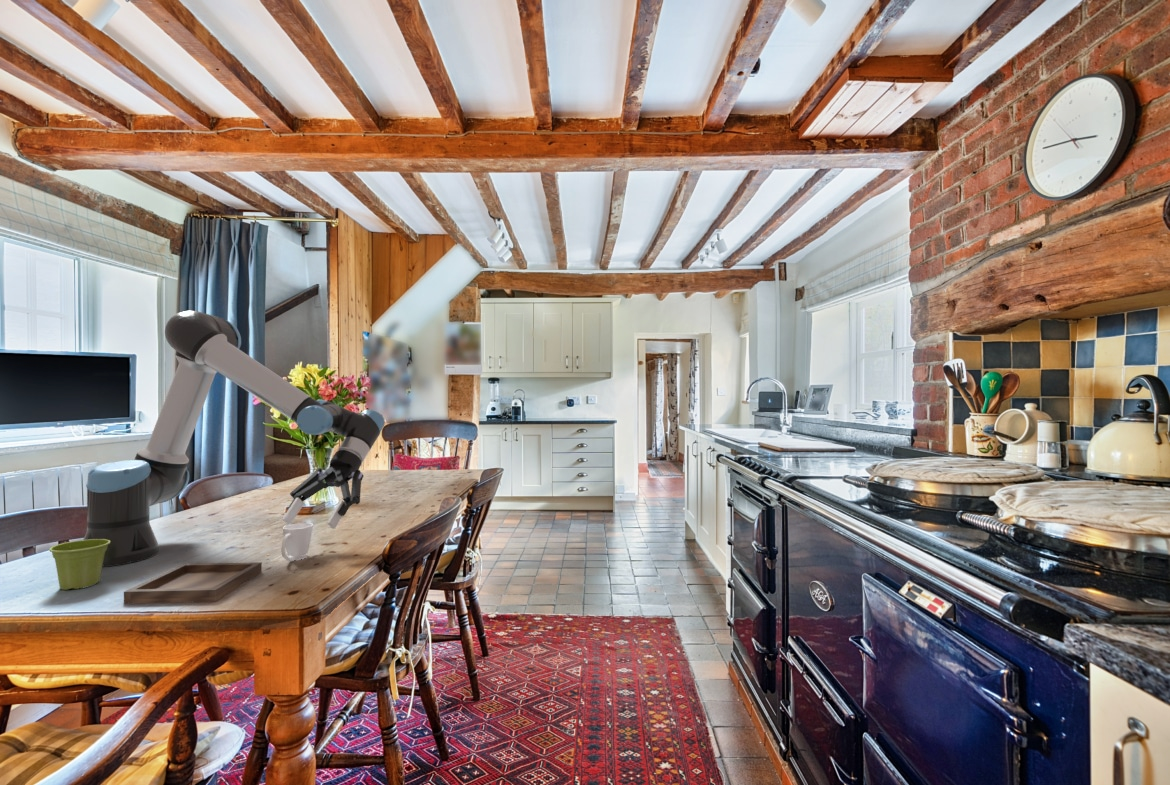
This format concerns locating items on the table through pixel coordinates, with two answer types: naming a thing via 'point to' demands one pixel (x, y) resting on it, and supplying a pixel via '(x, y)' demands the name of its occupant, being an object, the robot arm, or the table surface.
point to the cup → (296, 540)
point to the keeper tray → (193, 583)
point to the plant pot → (79, 562)
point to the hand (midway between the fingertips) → (308, 524)
